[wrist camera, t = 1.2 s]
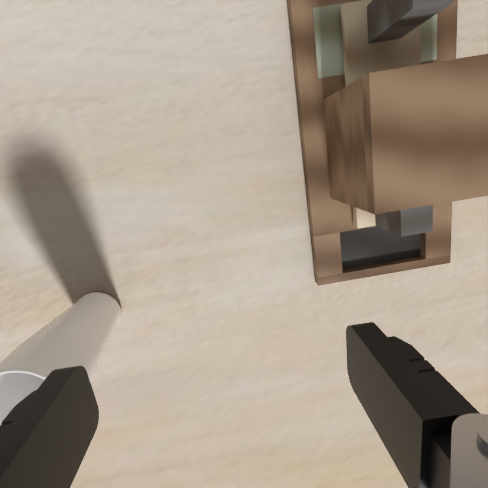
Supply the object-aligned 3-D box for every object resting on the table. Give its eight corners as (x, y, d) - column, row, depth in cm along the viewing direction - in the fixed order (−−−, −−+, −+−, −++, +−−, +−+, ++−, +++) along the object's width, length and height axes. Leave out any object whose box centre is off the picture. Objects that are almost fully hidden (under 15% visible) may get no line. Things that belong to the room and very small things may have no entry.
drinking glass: (61, 322, 37) (-41, 427, 23) (83, 274, 36) (-12, 354, 21) (116, 344, 38) (51, 457, 24) (138, 299, 37) (84, 389, 22)
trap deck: (286, -8, 30) (323, -105, 19) (449, -32, 30) (580, -143, 19) (315, 281, 38) (353, 331, 27) (443, 259, 38) (532, 300, 27)
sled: (340, 8, 29) (383, -47, 21) (414, -3, 29) (483, -62, 21) (353, 226, 35) (391, 246, 27) (415, 216, 35) (469, 232, 27)
